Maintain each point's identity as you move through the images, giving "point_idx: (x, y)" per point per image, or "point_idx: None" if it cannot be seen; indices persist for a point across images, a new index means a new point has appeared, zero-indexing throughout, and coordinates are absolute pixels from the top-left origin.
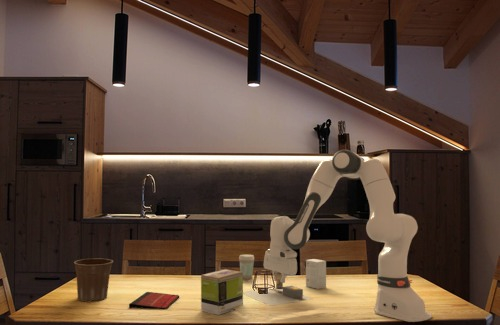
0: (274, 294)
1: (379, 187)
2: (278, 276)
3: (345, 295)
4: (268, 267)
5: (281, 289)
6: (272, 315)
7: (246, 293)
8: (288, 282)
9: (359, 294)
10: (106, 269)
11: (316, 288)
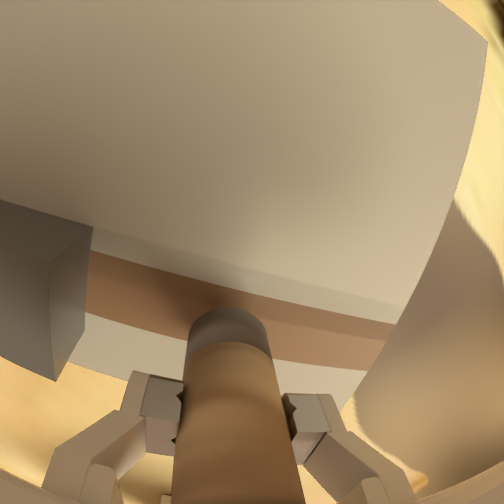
0: (168, 170)
1: None
2: (210, 448)
3: (19, 456)
4: (499, 494)
5: None
6: None
7: (426, 22)
8: None
9: (21, 474)
10: None
11: (169, 496)
